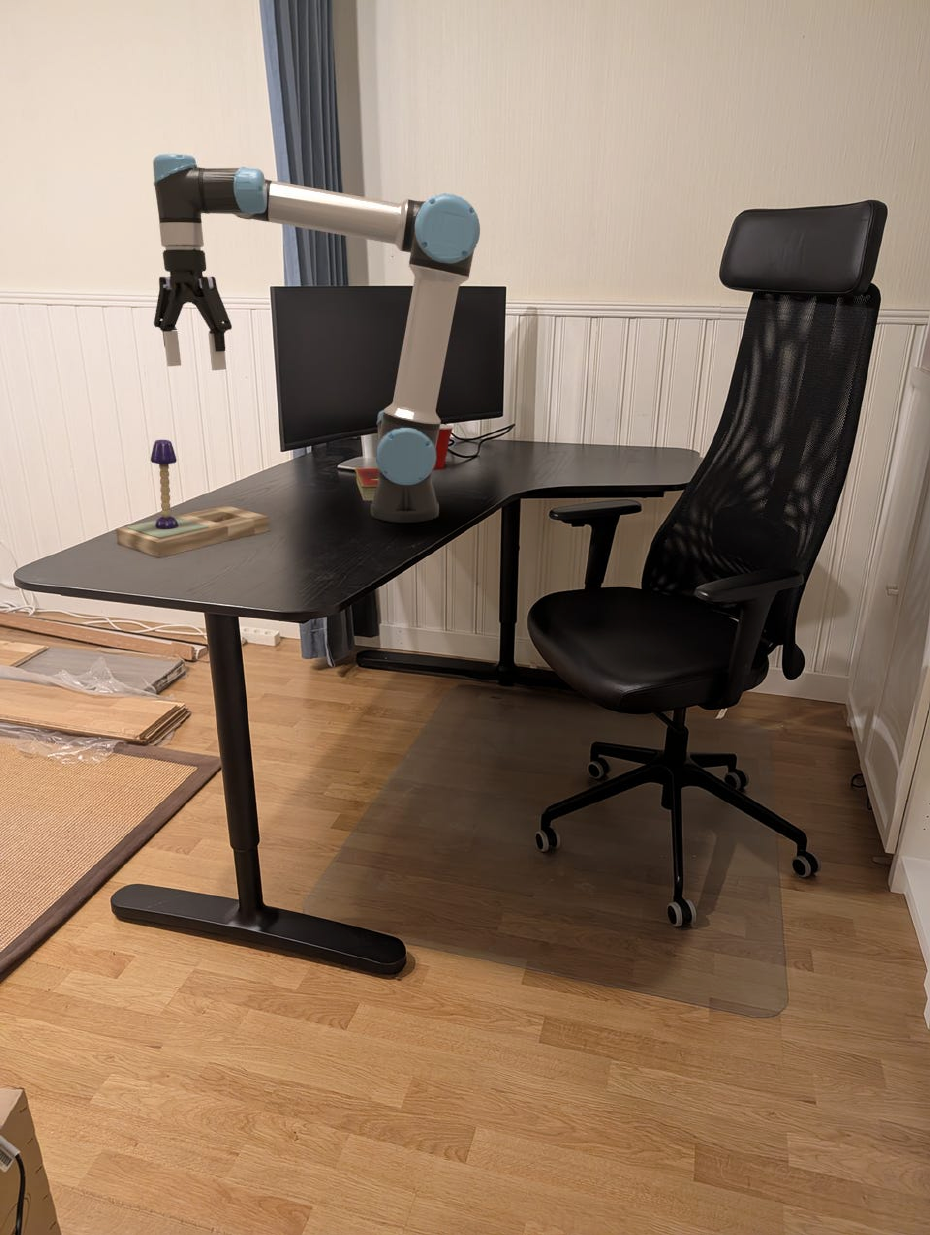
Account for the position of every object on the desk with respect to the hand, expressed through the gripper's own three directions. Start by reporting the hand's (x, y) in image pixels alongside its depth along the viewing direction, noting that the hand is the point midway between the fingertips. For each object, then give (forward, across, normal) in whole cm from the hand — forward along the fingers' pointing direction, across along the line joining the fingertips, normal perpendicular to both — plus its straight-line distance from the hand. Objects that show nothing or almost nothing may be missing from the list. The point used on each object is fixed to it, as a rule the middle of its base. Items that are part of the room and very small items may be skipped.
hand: (196, 368), depth 173 cm
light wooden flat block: (+32, -1, +5) cm, 33 cm away
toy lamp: (+29, -1, +11) cm, 31 cm away
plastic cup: (+34, +7, -82) cm, 89 cm away
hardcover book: (+34, -1, -51) cm, 61 cm away
